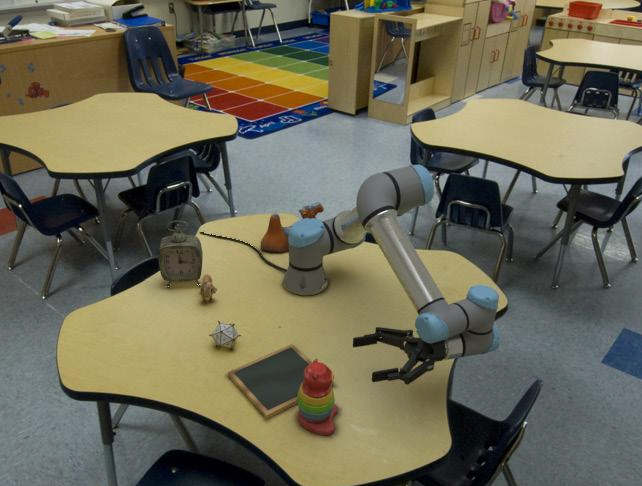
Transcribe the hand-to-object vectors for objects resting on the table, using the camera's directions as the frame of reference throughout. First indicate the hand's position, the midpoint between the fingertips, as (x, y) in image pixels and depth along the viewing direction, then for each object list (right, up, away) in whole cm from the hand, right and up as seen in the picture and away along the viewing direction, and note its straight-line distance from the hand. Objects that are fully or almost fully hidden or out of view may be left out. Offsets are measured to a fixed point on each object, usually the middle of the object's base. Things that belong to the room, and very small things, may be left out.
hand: (362, 359), depth 147 cm
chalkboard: (-20, -8, +16) cm, 27 cm away
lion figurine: (-44, +13, +52) cm, 69 cm away
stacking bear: (-11, -16, +4) cm, 20 cm away
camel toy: (-14, +32, +81) cm, 89 cm away
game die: (-37, -1, +30) cm, 47 cm away
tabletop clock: (-54, +18, +60) cm, 82 cm away
